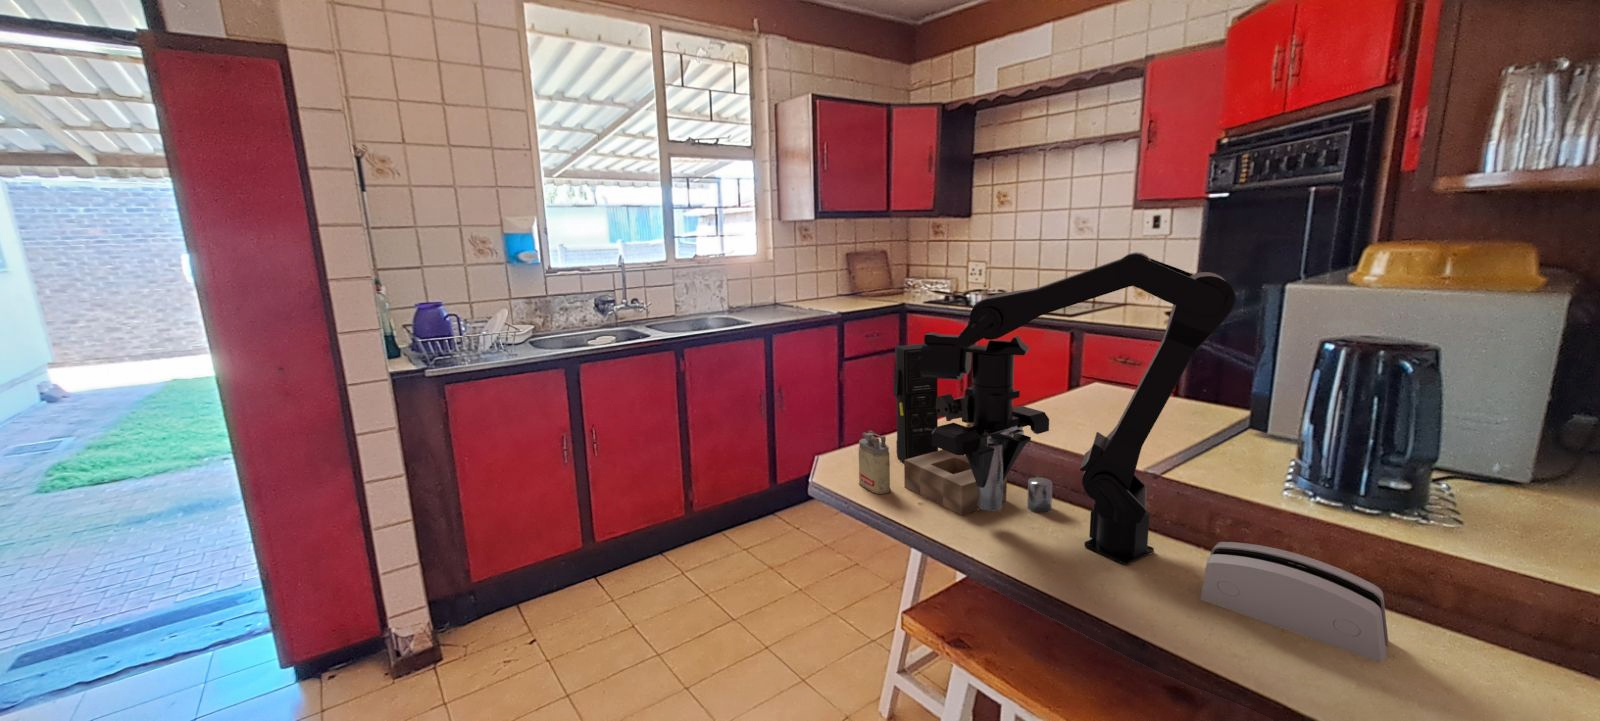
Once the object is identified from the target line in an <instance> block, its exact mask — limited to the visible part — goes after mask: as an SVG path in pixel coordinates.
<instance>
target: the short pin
mask: <svg viewBox="0 0 1600 721" xmlns="http://www.w3.org/2000/svg"><path fill="white" fill-rule="evenodd" d="M1027 480H1028V481H1027V482H1028V483H1027V503H1026V504H1027V505H1026V506H1027V507H1026V508H1027V509H1028V510H1029V511H1031V512H1034V513H1039V514H1047V513H1050V512H1051V511H1052V505H1053V504H1052V503H1053V502H1052V501H1053V481H1052V480H1050V479H1048V478H1046V477H1040V476H1039V477H1038V476H1037V477H1030V478H1029V479H1027Z"/></svg>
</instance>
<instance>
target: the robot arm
mask: <svg viewBox="0 0 1600 721" xmlns="http://www.w3.org/2000/svg"><path fill="white" fill-rule="evenodd" d="M1129 287H1135V288H1137V289H1139V290H1141V291H1144V292H1146V293H1149V294H1150V295H1152V296H1154V297H1155V298H1158V299H1160V300H1162V301H1164V302H1167V303H1169V304H1172V307H1171V310H1170V315H1169V318H1168V322H1167V325H1166V327H1165V328H1166V329H1165V332H1164V336H1163V338H1162V340H1161V342H1160V344H1159V345H1158V347H1157V349H1156V351H1155V353H1154V355H1153V357H1152V359H1151V360H1150V363H1149V364H1148V366H1147V367H1146V370H1145V372H1144V373H1143V375H1142V377H1141V379H1140V381H1139V383H1138V384H1137V387H1136V389H1135V391H1134V392H1133V394H1132V396H1131V398H1130V400H1129V401H1128V404H1127V405H1126V408H1125V409H1124V411H1123V413H1122V415H1121V416H1120V418H1119V421H1118V422H1117V424H1116V425H1115V427H1114V428H1113V429H1112V431H1111V432H1109V433H1108V435H1107V436H1105V435H1103V434H1102V433H1100V432H1098V431H1097V432H1096V433H1095V436H1094V440H1093V443H1092V446H1091V447H1090V449H1089V450H1087V451H1086V452H1085V453H1084V455H1083V458H1082V461H1081V462H1082V463H1081V465H1080V471H1081V472H1083V476H1082V477H1081V478H1082V479H1081V485H1082V487H1083V490H1084V492H1085V493H1086V494H1087V496H1089V498H1091V499H1093V500H1094V502H1093V509H1092V510H1090V519H1089V532H1088V533H1089V534H1088V535H1089V538H1090V539H1088V540H1086V541H1084V542H1083V543H1084V547H1086V548H1087V549H1089V550H1092V551H1094V552H1097V553H1099V554H1101V555H1102V556H1104V557H1107V558H1110V559H1112V560H1113V561H1116V562H1118V563H1120V564H1123V565H1130V564H1132V563H1134V562H1136V561H1138V560H1140V559H1143V558H1144V557H1147V556H1149V555H1151V554H1153V553H1154V552H1155V551H1154V550H1155V548H1154V547H1152V546H1151V545H1148V541H1149V528H1150V518H1151V516H1150V515H1151V513H1150V512H1149V511H1147V494H1148V493H1147V491H1148V488H1147V487H1148V486H1147V485H1146V484H1145V483H1144V482H1143V481H1142V480H1141V479H1140V478H1139V477H1138V475H1136V474H1135V472H1136V469H1137V466H1138V463H1139V458H1140V455H1141V452H1142V451H1141V450H1142V448H1143V446H1144V443H1145V441H1146V440H1147V439H1148V436H1149V434H1150V433H1151V431H1152V429H1153V427H1154V425H1155V424H1156V422H1157V420H1158V419H1159V417H1160V415H1161V414H1162V411H1163V410H1164V408H1165V406H1166V404H1167V402H1168V401H1169V399H1170V397H1171V395H1172V394H1173V391H1174V390H1175V388H1176V387H1177V385H1178V383H1179V381H1180V380H1181V378H1182V376H1183V374H1184V372H1185V370H1186V368H1187V366H1188V365H1189V364H1190V362H1191V359H1192V358H1193V356H1194V354H1195V353H1196V352H1197V350H1198V349H1199V348H1200V347H1202V346H1203V345H1204V343H1205V342H1206V341H1207V340H1209V338H1210V337H1212V335H1213V334H1214V333H1215V332H1216V331H1217V330H1218V328H1219V327H1220V326H1221V325H1222V324H1223V322H1225V320H1226V319H1227V318H1228V317H1229V315H1230V314H1231V313H1232V311H1233V310H1234V308H1235V304H1236V294H1235V292H1234V288H1233V287H1232V286H1231V285H1230V283H1228V282H1227V280H1226V279H1224V278H1223V276H1220V275H1219V274H1217V273H1215V272H1209V271H1208V272H1207V271H1206V272H1203V271H1202V272H1197V273H1194V274H1193V273H1192V272H1191V273H1190V272H1188V271H1186V270H1184V269H1180V268H1178V267H1175V266H1173V265H1170V264H1167V263H1164V262H1161V261H1159V260H1156V259H1153V258H1151V257H1149V255H1147V254H1145V253H1143V252H1138V251H1137V252H1131V253H1128V254H1126V255H1124V256H1123V257H1121V258H1119V259H1116V260H1113V261H1111V262H1108V263H1104V264H1103V265H1099V266H1096V267H1093V268H1090V269H1087V270H1085V271H1081V272H1079V273H1075V274H1073V275H1070V276H1068V277H1065V278H1062V279H1059V280H1056V281H1054V282H1050V283H1047V284H1045V285H1041V286H1038V287H1034V288H1029V289H1019V290H1014V291H1008V292H1002V293H997V294H992V295H989V296H988V297H986V298H983V299H981V300H979V301H978V302H976V303H975V304H974V305H973V307H972V309H971V311H970V314H969V323H968V324H967V325H966V327H965V328H964V329H963V330H962V331H960V333H959V334H944V333H943V334H942V333H941V334H940V333H938V332H930V333H928V334H927V333H926V334H925V335H924V336H923V341H924V342H923V343H922V344H923V346H922V350H921V356H920V357H919V371H920V374H921V376H922V377H925V378H937V380H938V379H939V380H940V379H941V380H950V381H961V380H962V379H963V377H964V375H969V374H970V371H971V368H972V376H971V377H972V378H971V379H972V380H971V381H972V382H971V383H972V385H971V386H970V387H967V388H965V391H964V396H963V397H957V398H954V397H953V395H952V394H950V393H947V394H943V395H939V396H938V395H937V397H936V411H937V417H939V418H942V417H945V420H946V422H950V423H946V424H942V425H938V427H936V428H935V429H934V430H933V431H932V445H933V446H935V447H938V449H939V450H945V451H948V452H950V453H953V454H955V455H966V457H967V459H968V461H969V464H970V467H971V470H972V472H973V475H974V478H975V481H976V483H977V486H979V487H981V488H983V487H985V484H986V481H987V478H988V474H989V470H990V466H991V462H992V458H993V454H994V448H991V447H988V439H989V437H990V439H996V440H1000V441H1002V442H1004V462H1003V481H1004V479H1005V477H1006V475H1007V476H1008V474H1009V472H1010V470H1011V469H1012V466H1013V465H1014V463H1015V462H1016V460H1017V458H1018V457H1019V455H1020V454H1021V453H1022V451H1023V449H1024V448H1025V446H1026V445H1027V443H1029V442H1031V440H1032V437H1031V436H1028V435H1026V434H1024V432H1025V431H1024V430H1023V428H1025V427H1028V426H1029V427H1030V430H1031V432H1033V434H1035V435H1039V434H1043V433H1047V432H1050V418H1049V416H1048V414H1047V413H1046V412H1045V411H1041V410H1038V409H1036V408H1035V409H1034V408H1030V407H1027V406H1023V405H1019V406H1015V407H1014V399H1018V398H1020V397H1021V396H1020V394H1021V392H1020V390H1018V389H1015V388H1014V375H1015V374H1014V373H1015V371H1014V370H1015V356H1025V355H1026V354H1027V353H1028V352H1029V351H1030V347H1029V345H1028V344H1027V343H1025V342H1023V341H1022V339H1021V338H1020V336H1019V335H1015V336H1014V337H1012V339H1011V340H997V339H1000V338H1002V337H1004V336H1006V335H1008V334H1009V333H1011V332H1013V331H1015V330H1017V329H1019V328H1021V327H1022V326H1024V325H1026V324H1028V323H1030V322H1031V321H1033V320H1035V319H1037V318H1040V317H1041V316H1043V315H1046V314H1049V313H1053V312H1055V311H1059V310H1062V309H1065V308H1067V307H1071V306H1073V305H1077V304H1080V303H1084V302H1086V301H1090V300H1092V299H1096V298H1098V297H1101V296H1104V295H1107V294H1110V293H1114V292H1117V291H1120V290H1123V289H1126V288H1129ZM983 339H985V340H987V342H988V343H987V344H986V345H977V344H976V343H978V342H980V341H981V340H983ZM956 419H961V422H963V423H966V424H971V426H969V427H968V426H964V425H961V424H960V423H957V422H951V421H952V420H956ZM1080 471H1079V472H1080Z"/></svg>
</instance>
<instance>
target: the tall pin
mask: <svg viewBox="0 0 1600 721" xmlns="http://www.w3.org/2000/svg"><path fill="white" fill-rule="evenodd" d="M988 447H991V448H994V454H993V458H992V462H991V466H990V470H989V474H988V478H987V481H986V484H985V487H983V488H981V487H979V486H978V497H977V506H978V507H979V508H981V509H980V510H983V511H987V512H997V511H1000V510H1002V508H1003V501H1002V496H1003V462H1004V442H1002V441H1000V440H996V439H992V438H988Z"/></svg>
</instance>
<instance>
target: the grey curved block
mask: <svg viewBox="0 0 1600 721" xmlns="http://www.w3.org/2000/svg"><path fill="white" fill-rule="evenodd" d="M1206 559H1207V561H1206V566H1205V570H1204V576H1203V581H1202V587H1201V591H1200V592H1201V593H1200V601H1204V602H1207V603H1209V604H1211V605H1212V604H1213V605H1215V606H1219V608H1220V607H1221V608H1223V609H1226V610H1228V611H1229V610H1230V611H1233V612H1234V613H1238V614H1240V615H1243V616H1247V617H1249V618H1252V619H1255V620H1258V621H1261V622H1264V623H1267V624H1270V625H1272V626H1275V627H1278V628H1281V629H1283V630H1287V631H1289V632H1292V633H1294V634H1297V635H1300V636H1304V637H1307V638H1308V639H1312V640H1314V641H1318V642H1320V643H1324V644H1326V645H1329V646H1332V647H1335V648H1338V649H1341V650H1344V651H1346V652H1349V653H1352V654H1354V655H1358V656H1361V657H1363V658H1367V659H1370V660H1372V661H1375V662H1378V663H1381V664H1382V663H1383V662H1384V661H1385V660H1386V658H1387V648H1389V646H1390V645H1389V635H1388V627H1387V617H1386V609H1385V601H1384V600H1385V599H1384V592H1383V590H1382V589H1381V588H1380V587H1378V585H1375V584H1374V583H1372V582H1369V581H1367V580H1366V579H1364V578H1361V577H1360V576H1357V575H1355V574H1353V573H1350V572H1348V571H1346V570H1345V569H1342V568H1339V567H1336V566H1334V565H1331V564H1329V563H1326V562H1324V561H1321V560H1317V559H1315V558H1312V557H1309V556H1306V555H1303V554H1298V553H1296V552H1292V551H1288V550H1284V549H1280V548H1276V547H1270V546H1265V545H1261V544H1260V545H1259V544H1253V543H1245V542H1235V541H1220V542H1217V543H1216V544H1215V546H1214V547H1213V548H1211V550H1210V555H1209V556H1208V557H1207V558H1206Z"/></svg>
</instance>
